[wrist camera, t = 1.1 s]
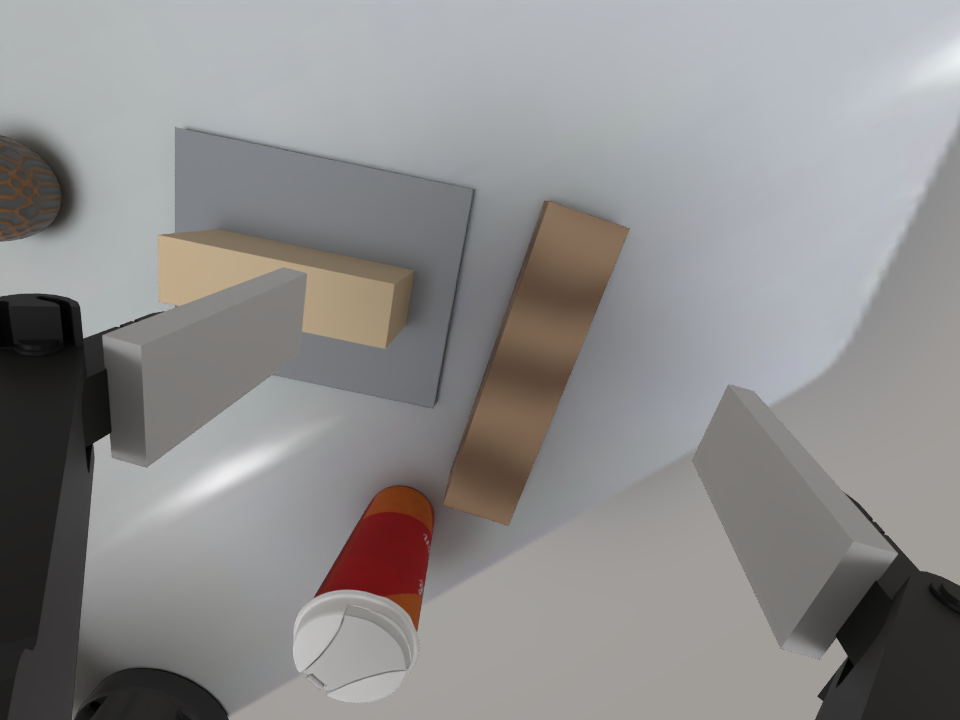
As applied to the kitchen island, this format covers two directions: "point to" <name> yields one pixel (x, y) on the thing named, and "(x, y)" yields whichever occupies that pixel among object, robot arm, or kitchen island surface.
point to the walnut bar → (532, 358)
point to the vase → (25, 192)
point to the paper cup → (369, 603)
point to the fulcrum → (324, 256)
